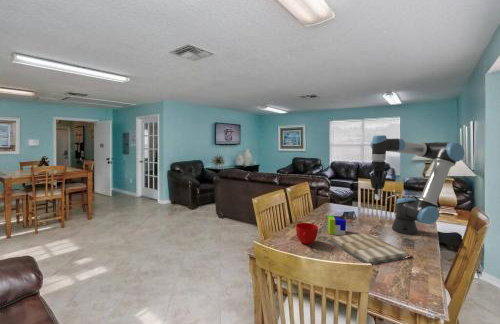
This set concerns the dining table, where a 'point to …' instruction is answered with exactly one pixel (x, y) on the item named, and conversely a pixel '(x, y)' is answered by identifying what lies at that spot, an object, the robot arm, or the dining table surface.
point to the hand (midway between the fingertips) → (377, 199)
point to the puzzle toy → (336, 225)
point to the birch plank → (380, 253)
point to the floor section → (359, 245)
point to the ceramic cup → (306, 232)
